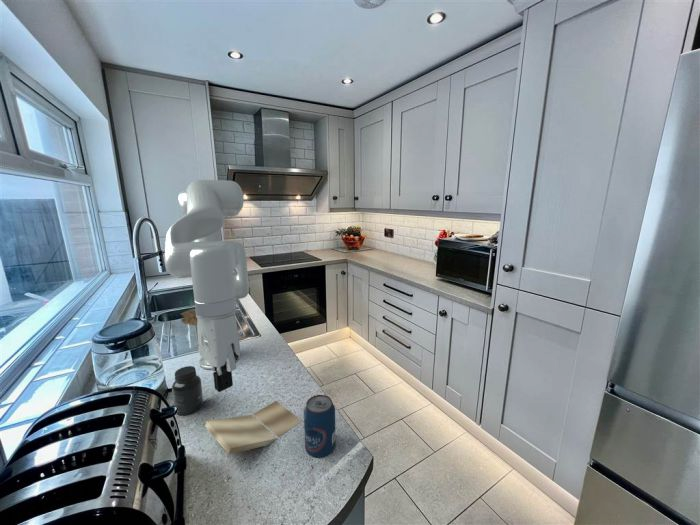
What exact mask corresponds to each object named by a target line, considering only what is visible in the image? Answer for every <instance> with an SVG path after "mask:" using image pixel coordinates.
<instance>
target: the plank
mask: <svg viewBox="0 0 700 525" xmlns="http://www.w3.org/2000/svg"><path fill="white" fill-rule="evenodd" d="M204 427H205V428H206V429H207V431H208V432H210V434H211V435H212V437H213V438H214V439H215V440H216V441H217V442H218V443H219V445H220V446H221V447H222V448H223V449H224V451H226V453H227V454H228V455H231V454H236V453H241V452H246V451H249V450H253V449H257V448H263V447H265V446H269V445H270V444H271V443H273V442H274V441H276V440H277V439H278V436H277V435H275V434H274V433H273V432H272V431H271V430H270V429H269V428H268V427H267V426H265V425H264V424H263V423H262V422H261V421H260V420H259V419H258V418H257V417H256V416H254V415H253V414H250V415H249V414H248V415H242V416H241V415H240V416H233V417H225V418H218V419H210V420H206V422H205V425H204Z"/></svg>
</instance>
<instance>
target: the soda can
mask: <svg viewBox="0 0 700 525" xmlns="http://www.w3.org/2000/svg"><path fill="white" fill-rule="evenodd" d="M303 427H304V428H303V429H304V448H305V451H306V454H308V455H309V456H311V457H312V458H315V459H321V458H325V457H328V456H329V455H331V454H332V453H333V452H334V451H335V448H336V442H337V441H336V408H335V405H334V403H333V400H332V398H331V397H330V396H328V395H325V394H316V395H312V396H311V397H310V398H308V400H307V401H306V405H305V407H304V409H303Z"/></svg>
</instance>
